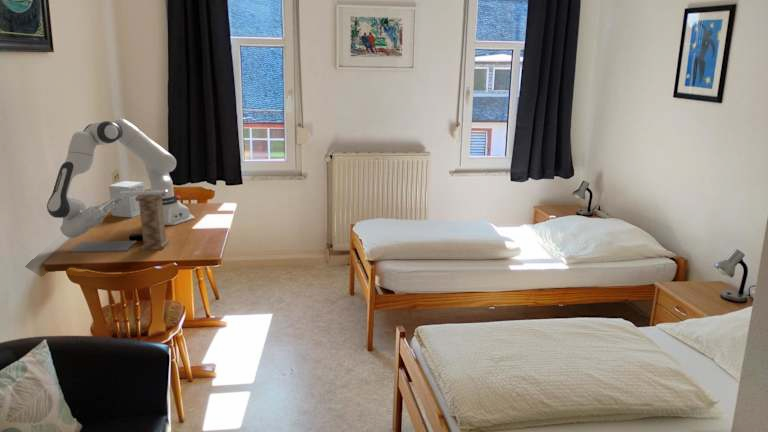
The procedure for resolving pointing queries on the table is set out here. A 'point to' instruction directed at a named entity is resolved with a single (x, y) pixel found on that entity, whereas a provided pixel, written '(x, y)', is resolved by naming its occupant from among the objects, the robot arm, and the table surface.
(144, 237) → the walnut stand
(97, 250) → the rubber mat
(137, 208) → the supplement box
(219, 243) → the table surface
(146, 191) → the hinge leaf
